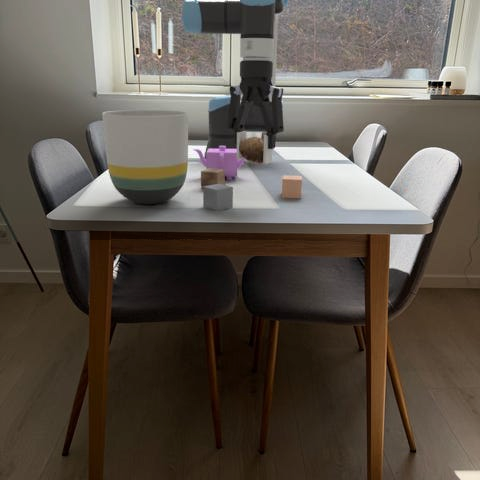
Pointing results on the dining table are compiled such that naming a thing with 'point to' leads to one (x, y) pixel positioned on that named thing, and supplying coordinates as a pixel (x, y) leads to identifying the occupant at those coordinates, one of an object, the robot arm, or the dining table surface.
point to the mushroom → (252, 149)
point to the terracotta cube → (291, 186)
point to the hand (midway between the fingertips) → (254, 160)
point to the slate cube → (217, 197)
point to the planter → (146, 153)
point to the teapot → (222, 160)
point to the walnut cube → (212, 177)
